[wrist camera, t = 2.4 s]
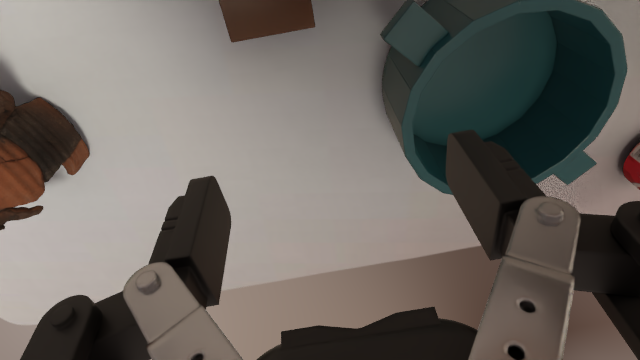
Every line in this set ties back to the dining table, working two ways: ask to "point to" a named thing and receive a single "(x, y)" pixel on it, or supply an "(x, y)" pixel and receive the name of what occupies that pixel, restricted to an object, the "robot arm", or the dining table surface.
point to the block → (265, 17)
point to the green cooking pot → (502, 81)
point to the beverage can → (633, 166)
